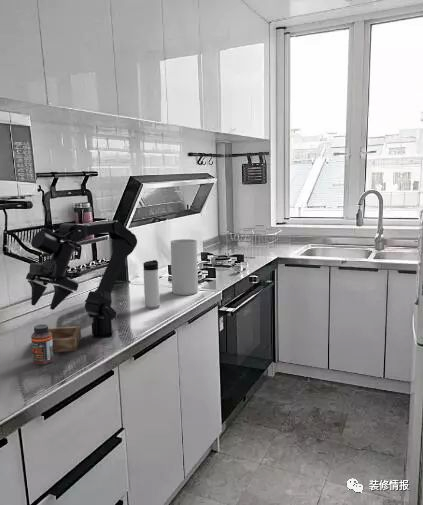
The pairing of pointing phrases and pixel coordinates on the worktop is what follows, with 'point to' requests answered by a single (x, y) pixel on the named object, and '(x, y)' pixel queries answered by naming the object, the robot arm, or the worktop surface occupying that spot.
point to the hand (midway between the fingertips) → (42, 307)
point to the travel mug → (151, 284)
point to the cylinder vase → (184, 266)
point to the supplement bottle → (42, 345)
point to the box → (65, 338)
